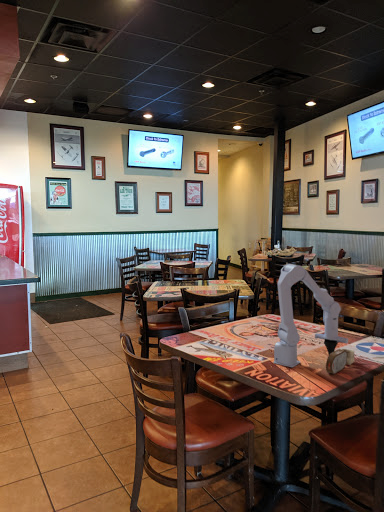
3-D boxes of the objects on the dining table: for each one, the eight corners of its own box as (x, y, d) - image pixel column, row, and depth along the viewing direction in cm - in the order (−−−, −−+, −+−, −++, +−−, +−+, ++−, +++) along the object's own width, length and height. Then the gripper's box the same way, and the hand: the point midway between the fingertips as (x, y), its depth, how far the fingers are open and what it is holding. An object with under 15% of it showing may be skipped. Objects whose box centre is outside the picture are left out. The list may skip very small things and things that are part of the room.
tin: (341, 365, 169) (341, 346, 168) (348, 367, 166) (348, 348, 166) (324, 375, 158) (324, 355, 158) (332, 377, 156) (332, 356, 155)
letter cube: (338, 362, 172) (338, 351, 172) (342, 359, 176) (342, 348, 176) (350, 365, 169) (350, 353, 169) (354, 361, 173) (354, 350, 172)
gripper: (350, 327, 174) (350, 356, 175) (319, 322, 184) (319, 350, 185) (345, 330, 169) (344, 361, 170) (313, 325, 178) (312, 354, 179)
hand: (331, 356), depth 177 cm, fingers closed
